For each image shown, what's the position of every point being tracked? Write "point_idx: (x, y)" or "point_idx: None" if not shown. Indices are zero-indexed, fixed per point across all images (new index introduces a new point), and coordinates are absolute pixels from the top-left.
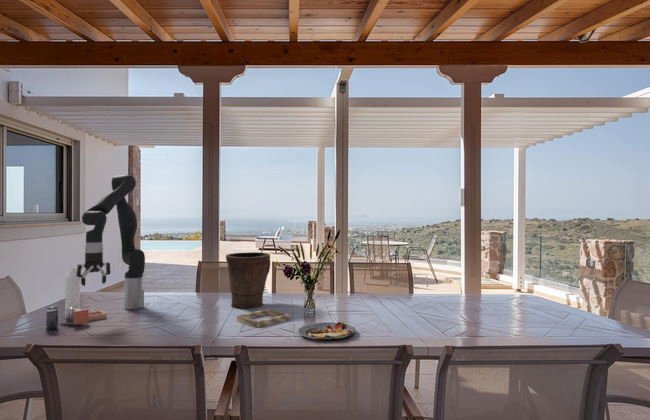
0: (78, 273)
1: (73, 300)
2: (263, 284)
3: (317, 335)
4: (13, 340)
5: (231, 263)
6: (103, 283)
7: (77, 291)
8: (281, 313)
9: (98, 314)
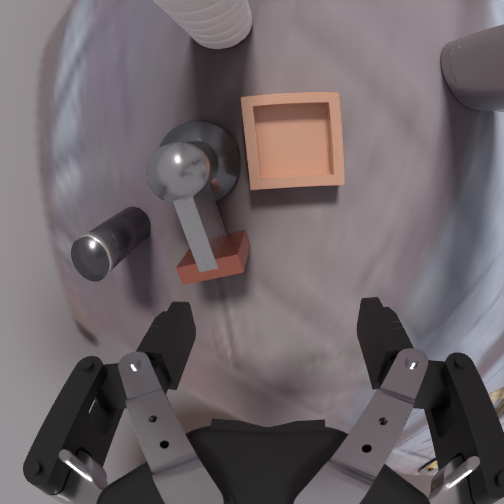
0: (96, 424)
1: (198, 20)
2: None
3: (435, 463)
4: (71, 281)
5: None
6: (359, 329)
7: None
8: (499, 412)
9: (307, 185)
